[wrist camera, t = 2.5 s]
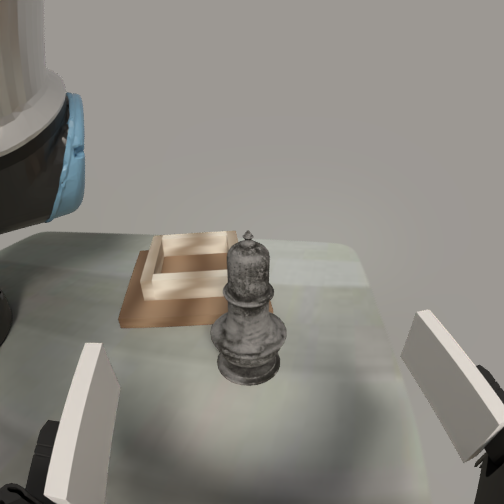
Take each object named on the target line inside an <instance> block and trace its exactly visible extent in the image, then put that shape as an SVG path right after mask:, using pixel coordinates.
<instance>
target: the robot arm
mask: <svg viewBox="0 0 504 504" xmlns="http://www.w3.org/2000/svg"><path fill="white" fill-rule="evenodd" d="M83 150H84V114H83V104H82V100H81V97H80V95H78V94H72V93H66V89H65V84H64V82H63V80H62V78H61V77H60V76H59V75H58V74H57V73H55V72H54V71H52V70H50V69H47V68H46V62H45V43H44V0H0V234H3V233H7V232H10V231H14V230H18V229H21V228H25V227H28V226H32V225H36V224H40V223H44V222H45V223H47V222H50V221H52V220H53V219H54V218H57V217H60V216H63V215H66V214H70V213H72V212H74V211H75V210H76V209H78V207H79V206H80V204H81V202H82V200H83V196H84V187H85V156H84V151H83ZM11 321H12V312H11V309H10V306H9V304H8V302H7V299H6V297H5V295H4V293H3V292H2V290H1V289H0V345H1V343H2V342H3V340H4V339H5V337H6V335H7V333H8V331H9V328H10V325H11ZM401 358H402V360H403V361H404V363H405V364H406V366H407V367H408V369H409V371H410V372H411V374H412V376H413V377H414V379H415V380H416V382H417V383H418V385H419V387H420V388H421V390H422V392H423V393H424V395H425V397H426V398H427V400H428V402H429V403H430V405H431V407H432V408H433V410H434V412H435V413H436V415H437V417H438V418H439V420H440V422H441V424H442V425H443V427H444V429H445V431H446V432H447V434H448V436H449V438H450V440H451V441H452V443H453V445H454V446H455V449H456V450H457V452H458V454H459V456H460V458H461V459H462V461H463V463H465V462H467V461H469V460H470V459H472V458H474V457H475V456H477V455H478V454H479V453H480V452H481V451H482V450H483V449H485V450H486V453H485V454H484V455H483V456H482V457H481V458H480V459H479V460H478V461H477V462H476V463H475V466H474V467H477V466H478V465H479V464H480V463H481V462H482V461H483V462H482V464H481V465H480V467H479V468H481V474H480V479H479V484H478V489H477V494H476V498H475V502H474V504H504V391H503V390H502V389H501V388H500V386H499V384H498V383H497V382H495V379H494V378H493V376H492V375H491V374H490V372H489V371H488V370H486V369H485V368H483V367H482V366H481V365H478V366H475V365H474V364H473V362H472V361H471V360H470V358H469V357H468V356H467V355H466V353H465V352H464V351H463V350H462V348H461V347H460V346H459V345H458V343H457V342H456V341H455V340H454V338H453V337H452V336H451V335H450V333H449V332H448V331H447V330H446V329H445V327H444V326H443V325H442V324H441V323H440V321H439V320H438V319H437V318H436V317H435V316H434V314H433V313H432V312H431V311H430V310H424V311H419V312H416V314H415V317H414V320H413V323H412V326H411V329H410V332H409V334H408V337H407V340H406V343H405V346H404V348H403V350H402V353H401ZM120 389H121V387H120V385H119V382H118V380H117V378H116V375H115V373H114V371H113V368H112V366H111V364H110V361H109V359H108V356H107V354H106V351H105V349H104V346H103V343H85V345H84V348H83V351H82V354H81V356H80V359H79V362H78V365H77V368H76V371H75V374H74V377H73V380H72V383H71V386H70V390H69V393H68V396H67V399H66V403H65V406H64V410H63V413H62V417H61V420H60V422H59V421H51V420H48V421H47V422H46V424H45V425H44V426H43V428H42V429H41V430H40V433H39V437H38V440H37V445H36V448H35V451H34V453H35V455H33V459H32V463H31V467H30V472H29V476H28V480H27V485H26V489H24V488H23V487H21V486H20V485H18V484H13V483H10V484H6V485H4V486H3V487H2V488H1V489H0V504H105V496H106V486H107V476H108V468H109V459H110V452H111V444H112V437H113V431H114V424H115V418H116V412H117V406H118V400H119V395H120Z"/></svg>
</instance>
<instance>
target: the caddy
mask: <svg viewBox="0 0 504 504" xmlns="http://www.w3.org/2000/svg"><path fill="white" fill-rule="evenodd" d="M236 243H238V239H237V234H236V231H222V232H205V233H190V234H174V235H159V236H154V237H153V240H152V243H151V246H150V249H149V250H146V251H140V253H139V256H138V259H137V262H136V265H135V267H134V270H133V273H132V276H131V279H130V282H129V286H128V289H127V292H126V295H125V298H124V301H123V305H122V308H121V311H120V314H119V318H118V320H119V323H120V326H121V328H146V327H172V326H191V325H208V324H214V322H215V321H216V320H217V319H218V318H219V317H220V316H221V315H223V314H225V313H227V312H228V301H227V300H226V299H225V297H224V295H223V288H224V286H225V285H226V284H227V283H228V276H227V253H228V250H229V249H230V248H231V246H232V245H234V244H236ZM269 312H271V313H273V308H272V305H271V302H270V301H269Z"/></svg>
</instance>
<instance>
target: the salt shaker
mask: <svg viewBox="0 0 504 504" xmlns="http://www.w3.org/2000/svg"><path fill="white" fill-rule="evenodd" d="M243 238H244V239H245V240H244V241H240V242H238V243H236V244H234V245H232V246H231V248H230V249H229V250H228V253H227V276H228V283H227V284H226V285H225V286H224V288H223V295H224V297H225V299H226V300H227V301H228V312H227V313H225V314H223V315H221V316H220V317H219V318H218V319H217V320H216V321H215V322H214V324H213V325H212V328H211V339H212V341H213V343H214V345H215V347H217V349H218V350H219V352H220V354H219V356H218V361H217V363H218V369H219V370H220V372H221V374H222V375H223V376H224V377H225V378H226V379H228V380H229V381H231V382H233V383H236V384H240V385H249V386H251V385H258V384H261V383H264V382H267V381H268V380H270V379H271V378H273V377H274V376H275V374H276V373H277V372H278V370H279V367H280V357H279V355H278V353H277V352H278V351H279V349H280V347H281V346H282V345H283V344H284V342H285V339H286V327H285V325H284V323H283V322H282V321H281V319H280V318H279V317H277V316H276V315H274V314H273V313H271V312H269V301H270V300H271V299H272V298H273V295H274V289H273V287H272V286H271V285H270V284H269V261H270V256H269V252H268V250H267V249H266V247H265V246H263V245H262V244H260V243H258V242H255V241H253V240H251V239H252V238H253V235H252V234H251V233H250V232H249V231H247V232H246V233H245V235H243Z"/></svg>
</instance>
